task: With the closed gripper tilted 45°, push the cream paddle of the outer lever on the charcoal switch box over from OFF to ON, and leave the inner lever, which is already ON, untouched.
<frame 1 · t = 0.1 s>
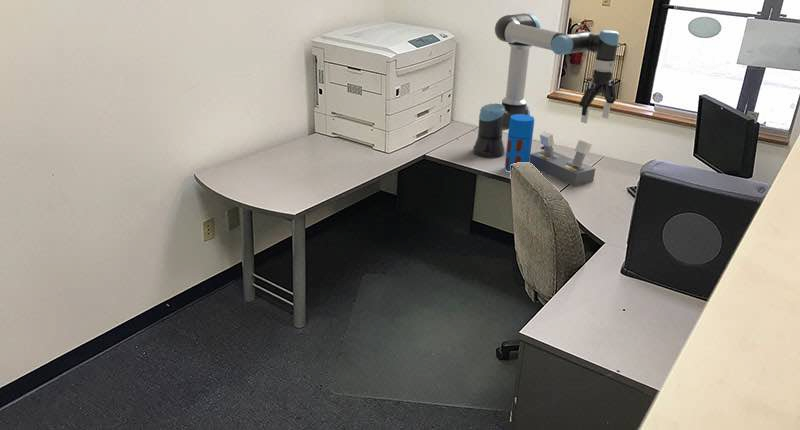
hand: (594, 120, 265), 28 cm above the table, tool pointing down, fingers open, 13 cm apart
inner lever: (547, 144, 284), point 12 cm above the table, hinge at 20.0°
outer lever: (580, 153, 275), point 12 cm above the table, hinge at -20.0°
thermos: (516, 170, 287), on the table
switch box: (560, 173, 285), on the table
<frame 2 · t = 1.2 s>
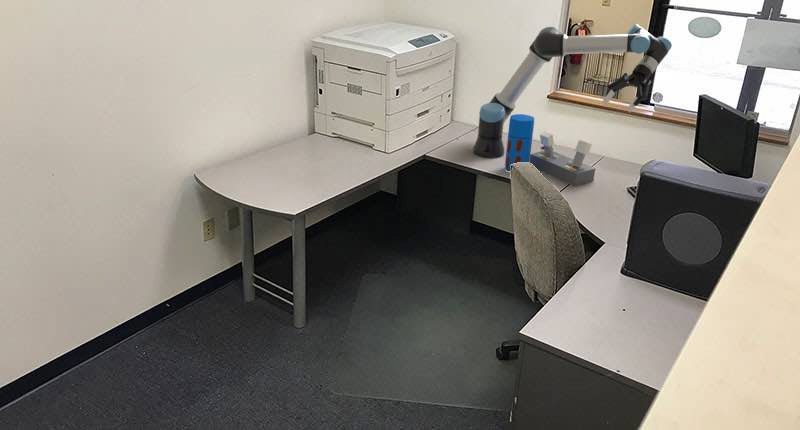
hand: (616, 106, 275), 30 cm above the table, tool tilted 45°, fingers open, 13 cm apart
nothing on the table moved.
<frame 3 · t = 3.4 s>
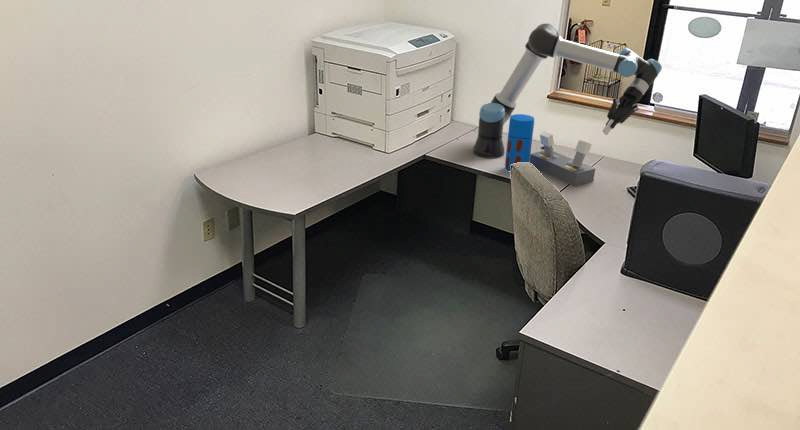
hand: (604, 132, 276), 20 cm above the table, tool tilted 45°, fingers closed
nothing on the table moved.
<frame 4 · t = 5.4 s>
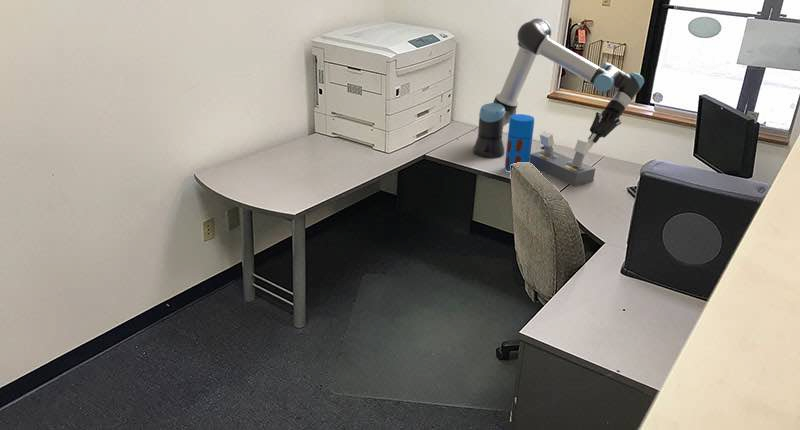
hand: (587, 147, 275), 14 cm above the table, tool tilted 45°, fingers closed
outer lever: (580, 153, 274), point 12 cm above the table, hinge at -15.6°, touching gripper
everything else where it was.
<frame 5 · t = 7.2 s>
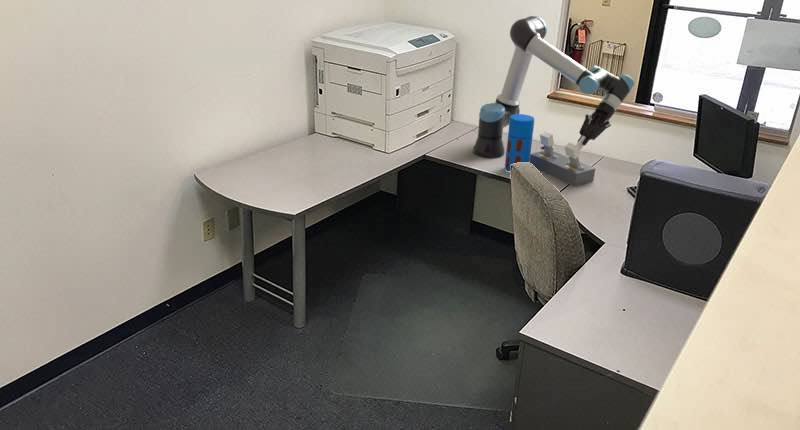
hand: (576, 149, 271), 14 cm above the table, tool tilted 45°, fingers closed
outer lever: (573, 156, 272), point 11 cm above the table, hinge at 25.7°, touching gripper
everything else where it was.
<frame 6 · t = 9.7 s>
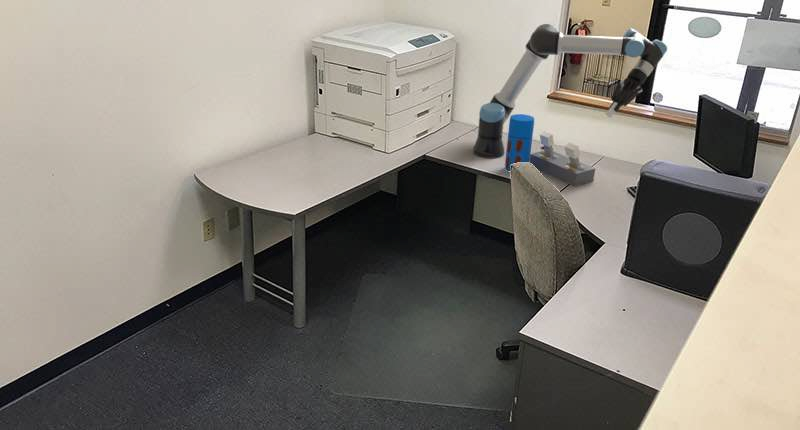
hand: (608, 115, 277), 26 cm above the table, tool tilted 40°, fingers closed
outer lever: (573, 156, 272), point 11 cm above the table, hinge at 25.8°
everything else where it was.
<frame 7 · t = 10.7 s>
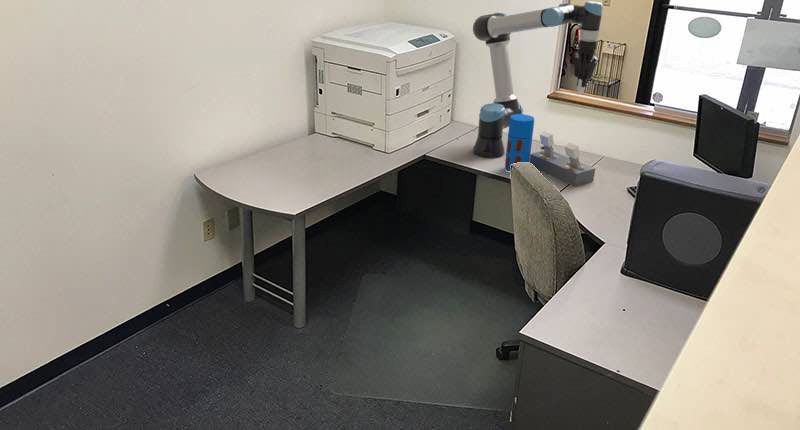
hand: (580, 93, 279), 34 cm above the table, tool pointing down, fingers closed
nothing on the table moved.
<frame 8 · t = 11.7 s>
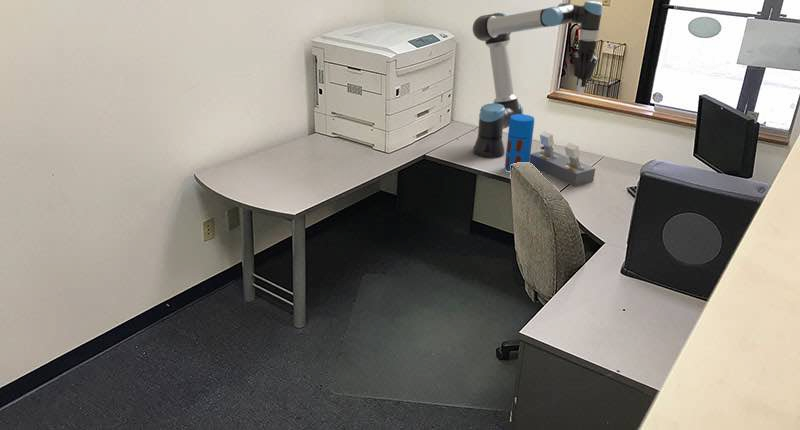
hand: (579, 93, 279), 34 cm above the table, tool pointing down, fingers closed
nothing on the table moved.
at the end: outer lever at +26° (first picture: -20°); inner lever at +20° (first picture: +20°); thermos moved 0.2 cm from its start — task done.
